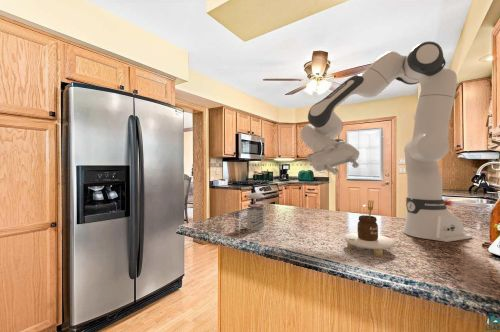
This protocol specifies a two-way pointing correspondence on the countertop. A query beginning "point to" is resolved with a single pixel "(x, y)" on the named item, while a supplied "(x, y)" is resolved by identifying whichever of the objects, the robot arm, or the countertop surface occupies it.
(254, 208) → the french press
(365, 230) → the utensil holder
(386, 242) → the leveling stand
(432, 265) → the countertop surface
